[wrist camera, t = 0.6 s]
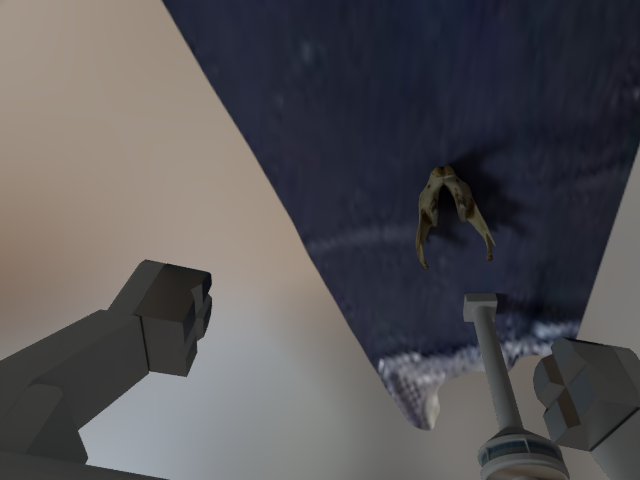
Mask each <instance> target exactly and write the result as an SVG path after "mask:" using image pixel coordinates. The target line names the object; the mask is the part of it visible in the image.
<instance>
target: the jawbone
mask: <svg viewBox="0 0 640 480" xmlns="http://www.w3.org/2000/svg"><path fill="white" fill-rule="evenodd" d="M442 187H445V188H446V189H447V190H449V191H450V192H451V194H452V195H453V197H454V199H455V203H456V206H457V209H458V215H459V218H460V220H461V222H466V221H467V220H468V221H469V222H470V223H471V224H472V225H473V226H474V227H475V228H476V230H477V231H478V232H479V233H480V234H481V235H482V236H483V238H484V239H485V241H486V245H487V257H486V259H487V260H489V261H492V260H493V257H492V242H493V244H494V245H495V243H494V241H493V238H492V236H491V233H490V231H489V228H488V226H487V224H486V222H485V220H484V219H483V217H482V215H481V213H480V211H479V210H478V208H477V205H476V203H475V201H474V199H473V197H472V194H471V190H470V187H469V186H468V185H467V184H466V183H465V182H463V181H462V180H460V179H459V178H458V177H457V176H456V175H455V173H454V171H453V169H452V168H451V167H450V166H449V165H445V166H443V167H436V168H434V170H433V171H432V172H431V174H430V178H429V181H428V183H427V185H426V187H425V188H424V190H423V191H422V193H421V194H420V197H419V224H418V229H417V235H416V250H417V254H418V261H419V259H420V262H421V264H422V266H423V269H424V270H427V269H428V265H427V264H426V262H425V259H424V252H423V245H424V242H425V239H426V236H427V234H428V231H429V229H430V227H431V226H433V227H436V226H438V196H439V192H440V190H441V189H442ZM496 248H497V247H496Z"/></svg>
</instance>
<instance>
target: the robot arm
mask: <svg viewBox="0 0 640 480" xmlns="http://www.w3.org/2000/svg"><path fill="white" fill-rule="evenodd" d="M211 285H212V280H211V274H210V273H209V272H206V271H201V270H196V269H191V268H186V267H181V266H177V265H172V264H165V263H160V262H156V261H150V260H144V261H142V262H141V263H140V264H139V265H138V267H137V268H136V269H135V271H134V272H133V274H132V275H131V277H130V278H129V280H128V281H127V282H126V284H125V285H124V287H123V288H122V290H121V291H120V292H119V294H118V295H117V297H116V298H115V300H114V301H113V303H112V304H111V305H110V307H109V309H108V310H98V311H96V312H95V313H92V314H90V315H89V316H87V317H85V318H83V319H81V320H79V321H77V322H75V323H73V324H71V325H69V326H67V327H65V328H63V329H61V330H59V331H57V332H56V333H54V334H52V335H50V336H48V337H46V338H44V339H42V340H40V341H38V342H36V343H35V344H32V345H30V346H28V347H26V348H24V349H22V350H20V351H19V352H17V353H15V354H13V355H11V356H9V357H7V358H5V359H3V360H1V361H0V480H168V479H163V478H157V477H152V476H146V475H141V474H135V473H129V472H123V471H118V470H113V469H107V468H102V467H96V466H91V465H85V463H86V461H87V460H88V456H87V453H86V450H85V447H84V445H83V442H82V440H81V437H80V435H79V432H78V430H79V429H80V428H81V427H83V426H84V425H85V424H87V423H88V422H89V421H90V420H92V419H93V418H94V417H95V416H97V415H98V414H99V413H100V412H101V411H103V410H104V409H105V408H107V407H108V406H109V405H110V404H111V403H113V402H114V401H115V400H116V399H118V398H119V397H120V396H121V395H123V394H124V393H125V392H126V391H128V390H129V389H130V388H131V387H132V386H134V385H135V384H136V383H137V382H139V381H140V380H141V379H143V378H144V377H145V376H146V375H148V374H149V371H151V372H158V373H165V374H171V375H177V376H184V377H187V375H188V373H189V371H190V368H191V366H192V363H193V361H194V359H195V356H196V354H197V341H198V340H200V339H201V338H203V337H204V335H205V332H206V330H207V327H208V323H209V320H210V316H211V308H212V298H211V296H210V295H209V294H208V292H209V290H210V287H211ZM551 350H552V354H551V355H549V356H547V357H544V358H542V359H541V360H540V362H539V363H538V365H537V366H536V368H535V372H534V377H533V383H534V390H535V393H536V396H537V398H538V399H539V401H540V402H541V403H542V404H543V405H544V406H545V407H546V411H545V413H544V415H543V417H544V420H545V423H546V426H547V429H548V432H549V435H550V438H551V441H552V444H555V445H560V446H565V447H570V448H574V449H579V450H584V451H589V452H590V455H591V456H592V457H593V459H594V460H595V461H596V462H597V464H598V465H599V466H600V467H601V469H602V470H603V471H604V472H605V473H606V475H607V476H608V477H609V478H610V480H640V360H639V359H638V357H637V355H636V354H635V353H634V352H633V351H632V350H630V349H628V348H622V347H617V346H611V345H604V344H599V343H594V342H588V341H582V340H577V339H571V338H565V337H561V338H559V339H557V340H556V341H555V342H554V343H553V345H552V346H551Z"/></svg>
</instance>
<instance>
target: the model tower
mask: <svg viewBox="0 0 640 480" xmlns="http://www.w3.org/2000/svg"><path fill="white" fill-rule="evenodd" d="M497 302H498V301H497V298H496V294H495V293H467V294H465V300H464V309H463V315H464V320H465V322H474V324H475V328H476V332H477V337H478V341H479V345H480V349H481V353H482V358H483V362H484V366H485V370H486V374H487V379H488V383H489V386H490V391H491V395H492V399H493V404H494V408H495V412H496V416H497V421H498V425H499V429H500V432H499V433H497V434H496V435H495V436H494V437H492V438H491V439H490V440H489V441H487V442H486V443H485V444H484V445H482V446H481V447H480V449H479V450H478V453H477V457H478V462H479V464H480V465H481V467H482V469H481V479H482V480H569V479H570V477H569V473H568V470H567V468H566V466H565V464H564V461H563V458H562V453H561V450H560V448H559V446H558V445H555V444H552V441H551V440H549V439H546V438H544V437H542V436H539V435H537V434H534V433H532V432H529V431H527V430H525V429H523V425H522V422H521V418H520V415H519V411H518V407H517V404H516V400H515V397H514V393H513V390H512V386H511V383H510V379H509V376H508V372H507V369H506V365H505V362H504V358H503V355H502V351H501V348H500V344H499V341H498V337H497V334H496V330H495V327H494V323H493V321H494V320H495V314H496V308H497Z"/></svg>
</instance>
